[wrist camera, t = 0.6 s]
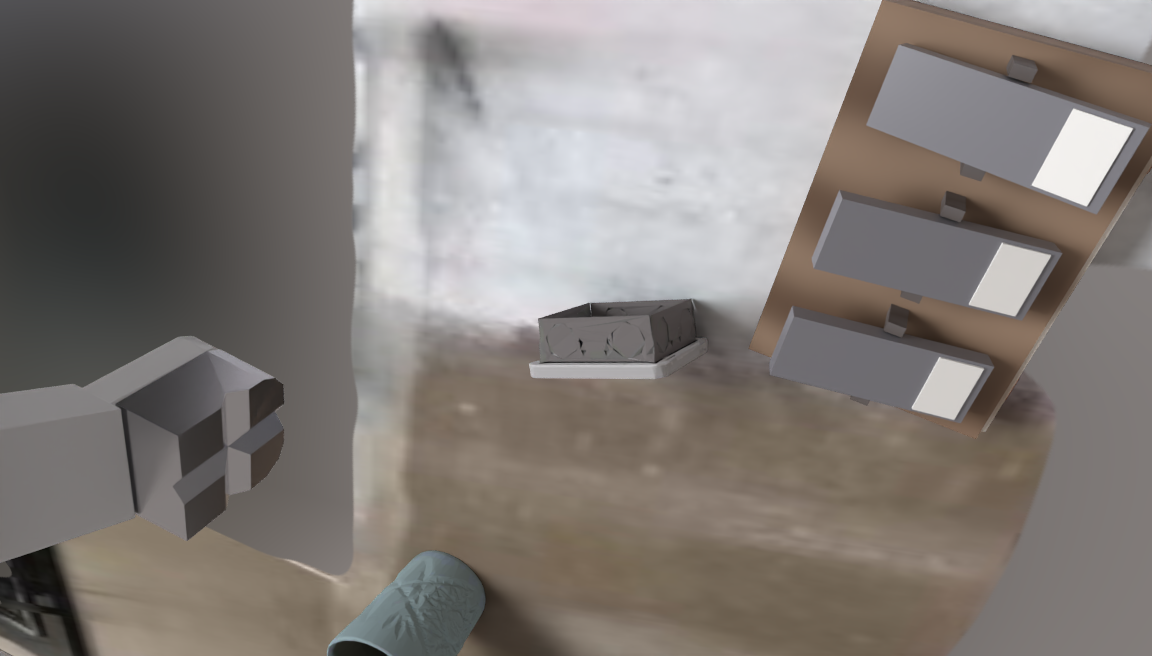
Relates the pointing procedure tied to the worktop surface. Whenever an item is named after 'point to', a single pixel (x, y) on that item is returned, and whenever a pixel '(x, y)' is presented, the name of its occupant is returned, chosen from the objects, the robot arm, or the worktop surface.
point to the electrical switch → (618, 341)
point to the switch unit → (957, 195)
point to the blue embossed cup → (417, 612)
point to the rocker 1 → (879, 364)
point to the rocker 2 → (1006, 126)
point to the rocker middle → (934, 255)
